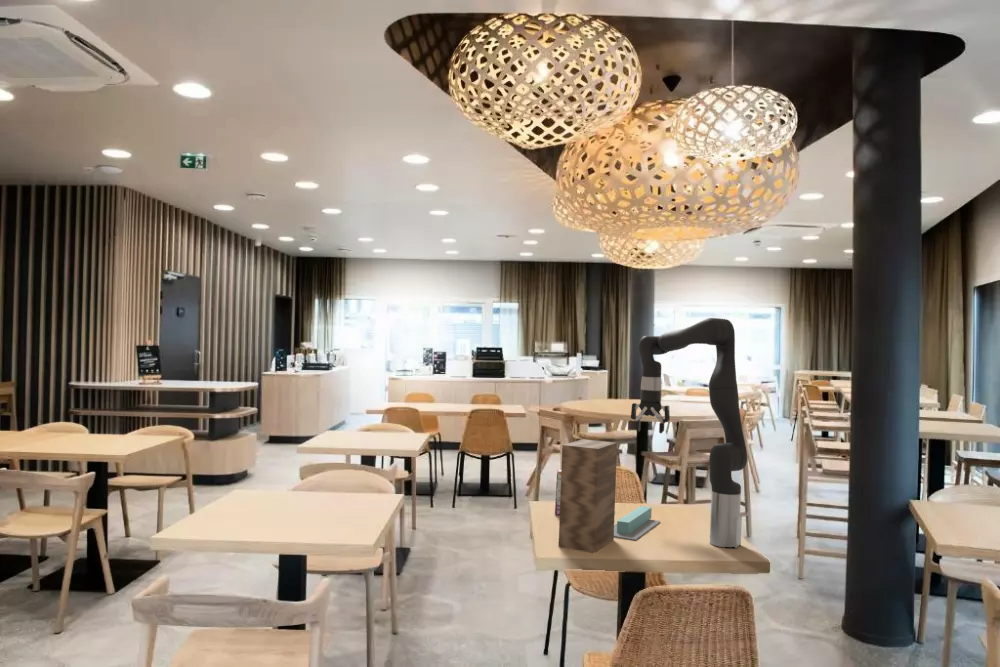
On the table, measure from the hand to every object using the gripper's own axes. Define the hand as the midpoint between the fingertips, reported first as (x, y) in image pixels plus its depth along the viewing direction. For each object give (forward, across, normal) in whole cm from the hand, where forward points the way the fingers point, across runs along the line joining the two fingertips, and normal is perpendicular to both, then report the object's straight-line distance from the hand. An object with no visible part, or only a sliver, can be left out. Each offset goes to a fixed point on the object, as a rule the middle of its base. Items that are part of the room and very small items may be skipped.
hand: (649, 432), depth 272 cm
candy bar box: (+32, +25, +14) cm, 43 cm away
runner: (+32, 0, +19) cm, 38 cm away
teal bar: (+32, 0, +16) cm, 35 cm away
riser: (+32, +6, +47) cm, 57 cm away
